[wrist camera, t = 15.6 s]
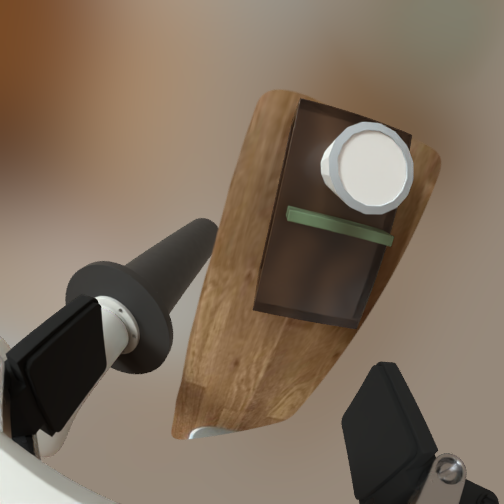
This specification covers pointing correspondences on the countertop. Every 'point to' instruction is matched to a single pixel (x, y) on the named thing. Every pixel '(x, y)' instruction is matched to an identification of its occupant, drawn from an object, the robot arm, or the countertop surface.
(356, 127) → the white cylinder
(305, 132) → the tray
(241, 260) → the countertop surface
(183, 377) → the countertop surface
